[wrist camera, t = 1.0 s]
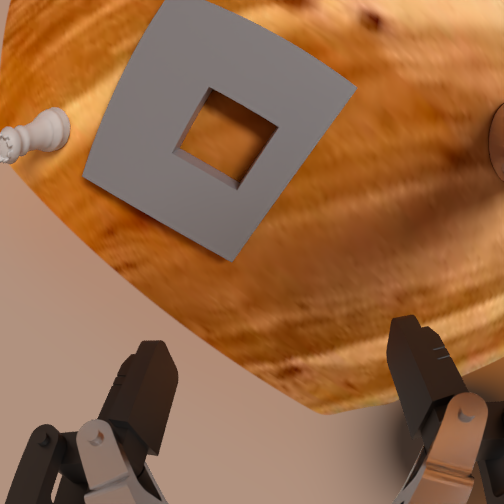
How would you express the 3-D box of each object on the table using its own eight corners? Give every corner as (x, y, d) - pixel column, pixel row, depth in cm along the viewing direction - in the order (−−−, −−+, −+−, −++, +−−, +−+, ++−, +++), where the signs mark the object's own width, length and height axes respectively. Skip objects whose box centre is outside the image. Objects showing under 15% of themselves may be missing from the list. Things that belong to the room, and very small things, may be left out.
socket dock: (180, -5, 17) (172, -12, 15) (351, 87, 20) (357, 87, 19) (93, 169, 25) (82, 176, 24) (234, 251, 29) (232, 262, 27)
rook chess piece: (71, 103, 22) (13, 117, 15) (74, 147, 24) (20, 172, 17) (40, 110, 22) (-16, 127, 15) (43, 151, 24) (-9, 176, 17)
